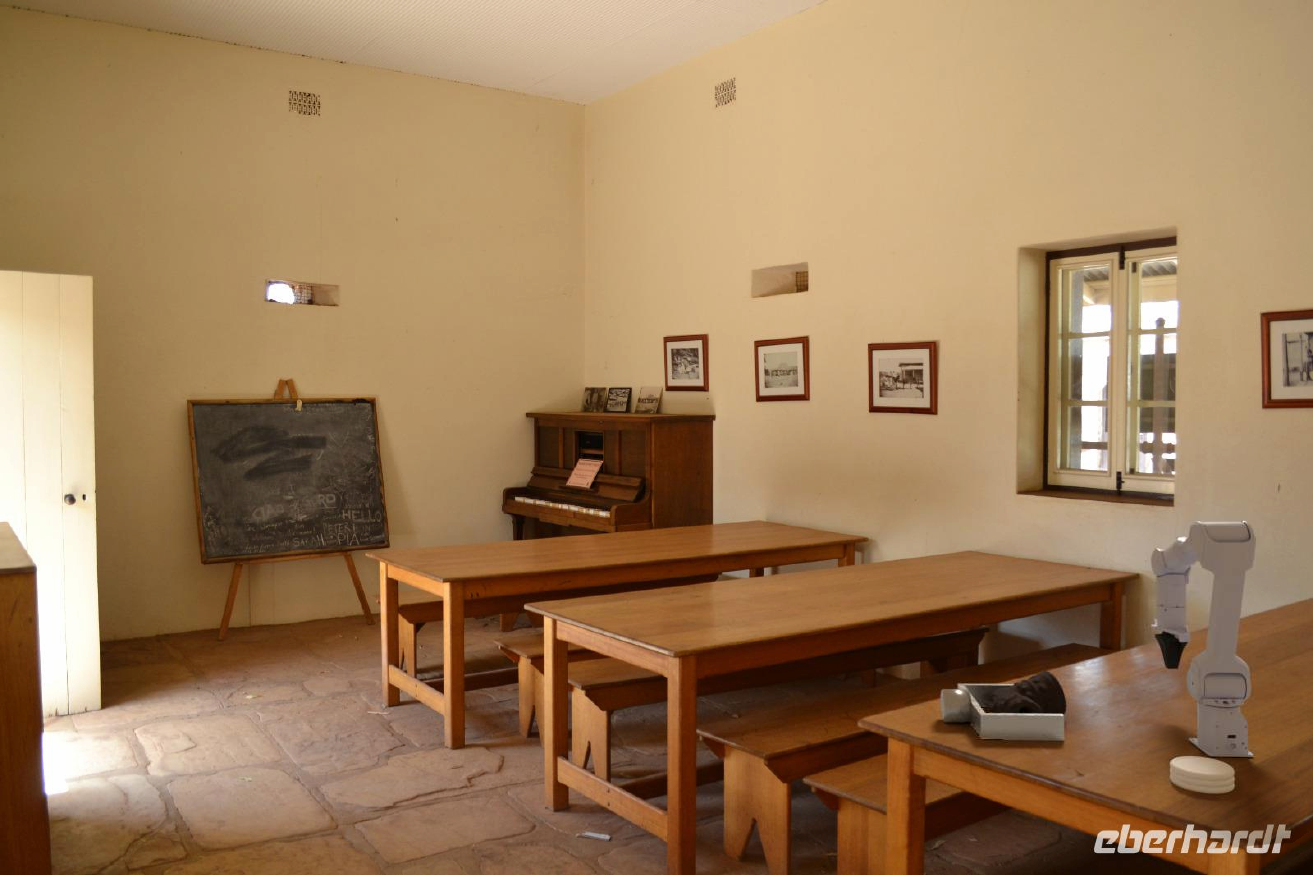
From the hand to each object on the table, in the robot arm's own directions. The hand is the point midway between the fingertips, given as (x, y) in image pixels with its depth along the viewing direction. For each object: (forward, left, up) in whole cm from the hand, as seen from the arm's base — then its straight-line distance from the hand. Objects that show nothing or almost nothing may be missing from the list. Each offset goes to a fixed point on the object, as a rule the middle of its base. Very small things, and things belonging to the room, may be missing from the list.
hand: (1171, 668), depth 217 cm
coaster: (-41, +11, -10) cm, 44 cm away
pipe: (-5, +31, -10) cm, 33 cm away
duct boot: (-7, +38, -10) cm, 40 cm away
